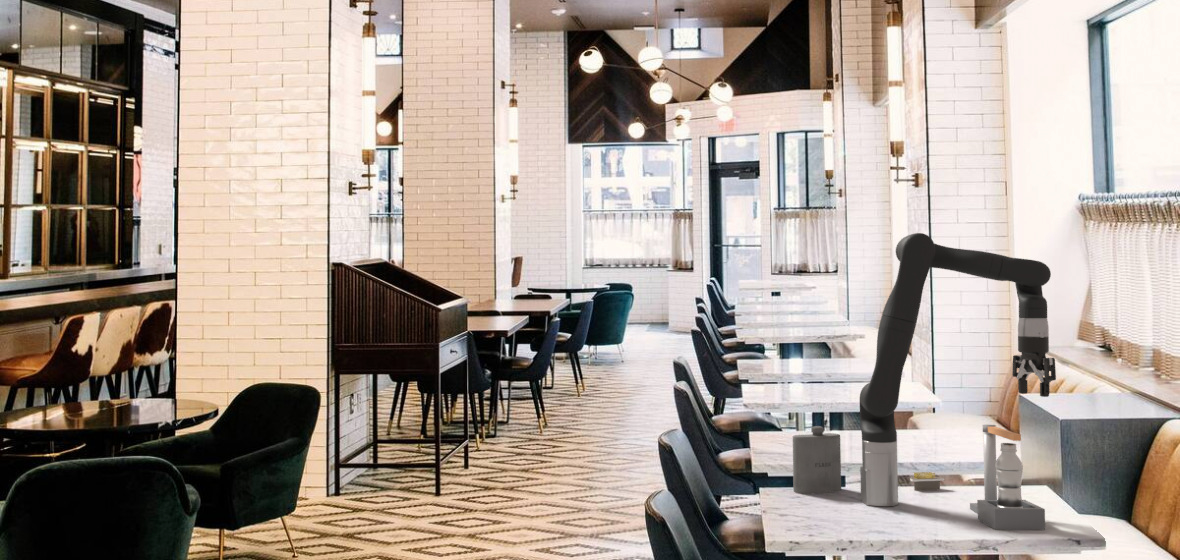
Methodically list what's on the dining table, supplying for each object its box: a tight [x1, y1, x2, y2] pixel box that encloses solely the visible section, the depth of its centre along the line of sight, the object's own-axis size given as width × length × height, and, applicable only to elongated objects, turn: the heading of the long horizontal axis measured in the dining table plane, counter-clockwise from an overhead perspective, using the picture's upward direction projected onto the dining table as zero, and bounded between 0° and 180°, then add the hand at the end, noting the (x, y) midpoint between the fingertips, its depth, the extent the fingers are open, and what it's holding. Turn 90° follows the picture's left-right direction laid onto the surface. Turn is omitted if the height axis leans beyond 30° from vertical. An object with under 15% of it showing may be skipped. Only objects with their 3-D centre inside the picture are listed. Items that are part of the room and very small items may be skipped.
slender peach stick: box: [982, 424, 1022, 442], centre depth 233 cm, size 19×3×2 cm, turn 178°
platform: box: [909, 471, 945, 491], centre depth 267 cm, size 12×18×7 cm, turn 98°
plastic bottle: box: [995, 442, 1024, 508], centre depth 229 cm, size 6×7×20 cm
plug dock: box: [969, 432, 1046, 531], centre depth 234 cm, size 12×22×21 cm, turn 178°
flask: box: [792, 425, 842, 495], centre depth 266 cm, size 15×6×20 cm, turn 107°
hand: (1033, 395), depth 247 cm, fingers open, 8 cm apart
